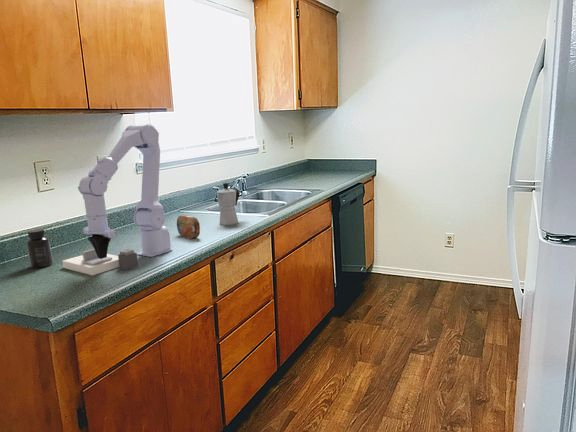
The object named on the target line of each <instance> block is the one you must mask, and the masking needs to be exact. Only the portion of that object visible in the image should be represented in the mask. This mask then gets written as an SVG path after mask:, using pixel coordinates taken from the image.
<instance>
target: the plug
mask: <svg viewBox="0 0 576 432" xmlns="http://www.w3.org/2000/svg"><path fill="white" fill-rule="evenodd" d="M137 253H138V252H135V250H134V249H129V248H128V249H124V250H120V251H119V254H117V256H118V259H119V266H120V267H119V269H122V270H125V271H129V270H132V269H135V268H138V267H139V263H138V262H139V260H138V254H137Z"/></svg>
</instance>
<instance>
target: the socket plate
mask: <svg viewBox="0 0 576 432" xmlns="http://www.w3.org/2000/svg"><path fill="white" fill-rule="evenodd" d="M107 257H112V260H109V261H105V262H102V263H99V264H95V265H91V264H87V263H82V261H81V260H83V254H82V255H78V256H75V257H71V258H68V259H64V260H62V268H63V269H67V270H70V271H74V272H78V273H82V274H86V275H89V276H95V275H97V274H101V273H105V272H107V271H111V270H113V269H114V270H115V269H117V268H120V266H119V259H118V255H115V254H110V253H107Z"/></svg>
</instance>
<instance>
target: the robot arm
mask: <svg viewBox="0 0 576 432" xmlns="http://www.w3.org/2000/svg"><path fill="white" fill-rule="evenodd" d="M159 137H160V132H159V131H158V130H157V129H156V128H155V126H154V125H152V124H144V125H143V124H142V125H129V126H127V127H126V128H125V129H124V130H123V131H122V132H121V137H120V138H119V140H118V142H117V143H116V145H115V146H114V148H113V149H112V150H111V152H110V153H109V154H108V156H107V157H102V158H98V160H97V161H96V162H97V164H96V165H95V166H94V167H93V168H92V170H90V171H89V172H88V176H87V175H86V176H84V177H82V178H81V179H80V181H79V184H78V186H77V189H78V192H79V193H80V194H81V195H82V199H83V200H84V208H85V209H84V210H85V214H86V220H87V223H86V224H87V226H86V227H83V228H82V232H83V235H91V236H89V237H87V240H88V241H89V242H90V244H91V245H92V247H93V249H95V251H96V254H97V256H98V258H99V259H103V258H106V257H107V254H108V249H109V245H110V241H111V239H112V238H116V237H117V236H116V235H117V234H116V230H114V229H111V228H110V227H109V223H108V216H107V215H108V214H107V207H106V201H105V193H106V192H107V190H108V184H109V182H110V181H111V179H112V178H113V176H114V175H115V174H116V173H117V171H118V169H119V166H118V163H120V161H122V159H123V158H124V157H125V156H126V155H127V153H128V152H129V151H131V149H132V148H136V149H137V150H138V151H139V152H141V154H142V158H143V159H142V173H141V174H142V175H141V176H142V177H141V178H142V179H141V196H140V197H141V198H140V201H139V202H138V203H137V204H136V206H135V211H134V213H133V217H132V219H133V223H134V224H135V226H137V228H138V230H139V235H140V237H139V238H140V244H141V251H139V252H136V253H137V256H138V255H139V256H144V257H149V258H153V257H156V256H159V255H163V254H165V253H168V252H171V251H173V248H172V246H171V237H170V232H169V229H168V228H167V226H165V225H164V224H165V221H166V215H165V213H164V206H163V205H162V204H161V203H160V202H159V185H160V164H161V163H160V161H161V147H160V143H159V139H160V138H159Z"/></svg>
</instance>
